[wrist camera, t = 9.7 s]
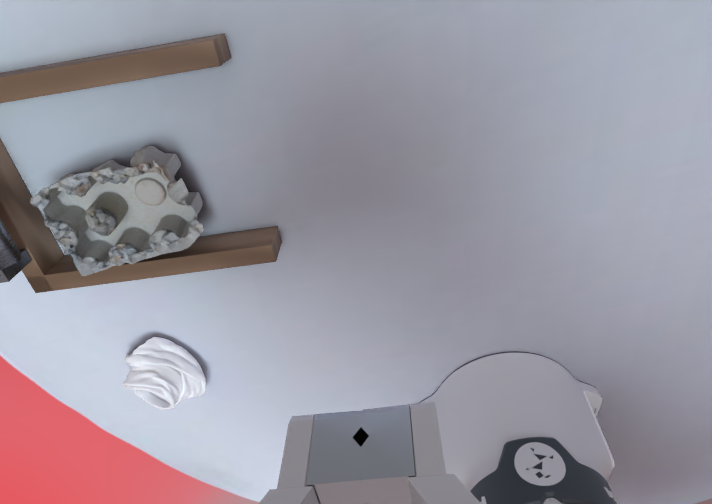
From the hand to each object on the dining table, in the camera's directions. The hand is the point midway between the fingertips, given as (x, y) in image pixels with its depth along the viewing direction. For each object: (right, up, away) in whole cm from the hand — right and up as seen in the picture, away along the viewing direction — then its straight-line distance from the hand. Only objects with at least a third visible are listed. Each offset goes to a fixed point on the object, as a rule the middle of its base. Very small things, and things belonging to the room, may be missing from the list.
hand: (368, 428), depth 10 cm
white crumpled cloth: (-18, -7, +38) cm, 42 cm away
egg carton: (-19, +10, +28) cm, 35 cm away
